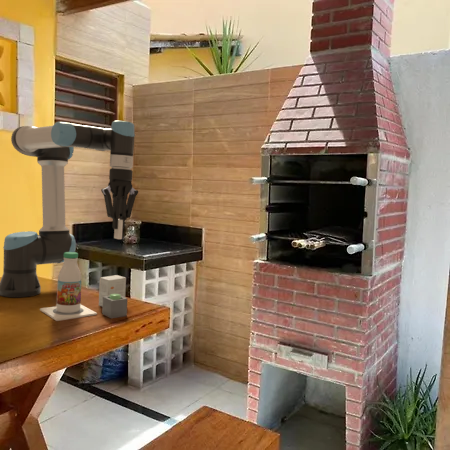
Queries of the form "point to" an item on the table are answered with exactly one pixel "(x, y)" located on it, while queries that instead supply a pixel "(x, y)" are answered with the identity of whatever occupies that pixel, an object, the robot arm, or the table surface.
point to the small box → (111, 287)
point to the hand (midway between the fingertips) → (118, 238)
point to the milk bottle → (69, 285)
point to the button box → (114, 307)
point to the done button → (115, 296)
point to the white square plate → (63, 316)
